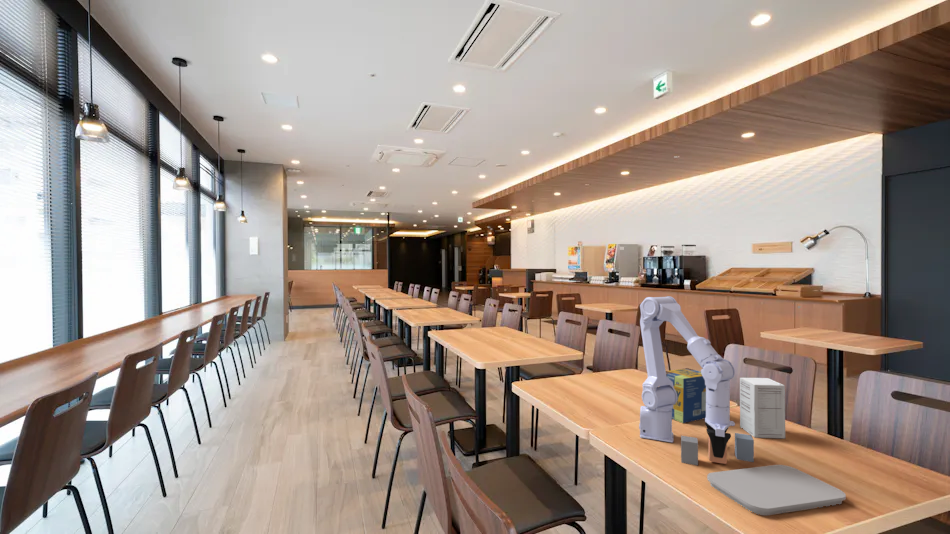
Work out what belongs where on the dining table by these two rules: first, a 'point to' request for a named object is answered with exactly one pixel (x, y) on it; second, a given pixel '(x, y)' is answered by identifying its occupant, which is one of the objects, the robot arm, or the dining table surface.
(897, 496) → the dining table surface
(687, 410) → the protein box
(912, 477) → the dining table surface
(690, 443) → the gray block
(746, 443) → the slate-blue block
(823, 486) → the tablet
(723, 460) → the terracotta block
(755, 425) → the supplement box
